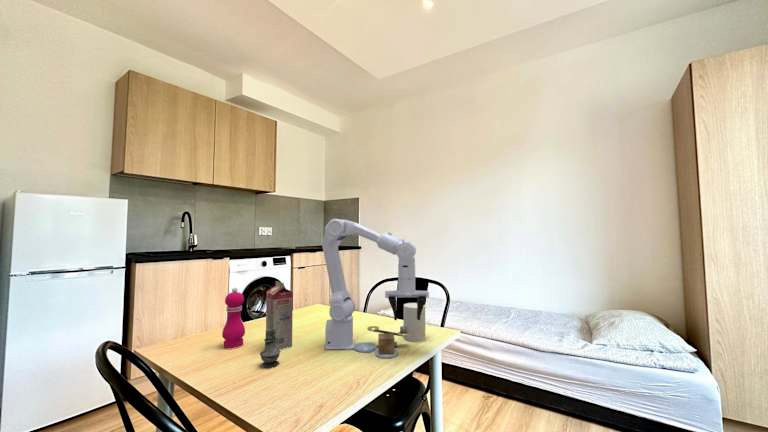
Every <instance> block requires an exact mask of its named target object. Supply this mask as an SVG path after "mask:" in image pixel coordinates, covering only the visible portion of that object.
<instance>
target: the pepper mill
mask: <svg viewBox="0 0 768 432" xmlns="http://www.w3.org/2000/svg"><path fill="white" fill-rule="evenodd" d="M224 299H225V300H224V304H225V305H226V310H225V311H226V312H227V318H226V321H225V324H224V327H223V328H222V332H221V333H222V335H221V336H222V338H223V339H224V340H223V344H222V345H223V346H224V347H226V348H234V347H238V346H241V345H242V346H243V345H244V338H243V337H244V336H245V334H246V328H245V325H244V323H243V320H242V317H241V316H242V315H241V313H242V310H243V305H242V304H243V303H244V301H245V297H244V294H243V293H242V292H238V288H237V287H233V288H232V289H231V292H230V293H228V294H226V296H225V298H224ZM242 346H241V347H242ZM224 347H223V348H224ZM226 348H225V349H226ZM238 348H239V347H238ZM234 349H235V348H234Z"/></svg>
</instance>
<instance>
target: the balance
mask: <svg viewBox="0 0 768 432" xmlns="http://www.w3.org/2000/svg"><path fill="white" fill-rule="evenodd" d="M399 330H400V331H398V332H393V331H388V330H387V331H386V330H382V329H380V327H379V326H376V325H371V326H368V327H367V331H369V332H373V333H374V332H375V333H378V334H383V333H394V336H397V337H403V338H404V336H409V332H407V327H406V326H404V325H402V326H400V327H399ZM394 346H395V349H398V342H397V341H394Z"/></svg>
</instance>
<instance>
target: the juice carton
mask: <svg viewBox="0 0 768 432" xmlns="http://www.w3.org/2000/svg"><path fill="white" fill-rule="evenodd" d="M293 293H294V292H293V291H292V290H289V289H287V288H286V287H285V283H284V282H280V281H276V280H275V285H274V286H273V287H271V288H270V289H268V290H267V291H266V298H265V299H266V305H265V307H266V309H265V311H266V312H265V314H266V315H265V330H266V329H267V328H268V327H270V324H271V325H272V327H274V328H275V329H276V332H275V338H277V340H276V349H281V350H284V349H283V348H285V349H288V348H291V347H293V303H294V301H293V296H294V294H293ZM287 347H288V348H287Z"/></svg>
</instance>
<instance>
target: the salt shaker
mask: <svg viewBox="0 0 768 432" xmlns="http://www.w3.org/2000/svg"><path fill="white" fill-rule="evenodd" d="M275 332H276V329H275V328H274V327H272V325H271V324H270V327H268V328H267V329H266V328H265V338H264V342H265V343H264V349H263V350H262V351H261V352H260V353H259V356H260V358H261V360H262V363H260V367H261V366H262V367H263V369H273V368H275V366H276V367H278V366H279V365H280V361H278V359H279V357H280V353H281V352H282V351H281V350H279V349H276V340H277V338H275ZM277 365H278V366H277ZM262 367H261V368H262ZM272 367H273V368H272Z"/></svg>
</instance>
